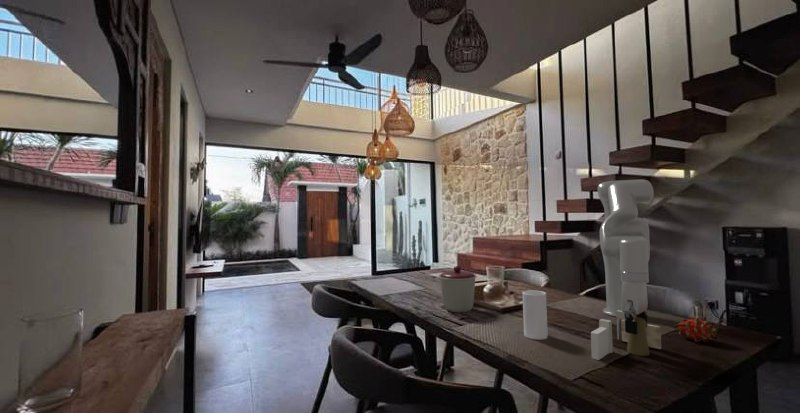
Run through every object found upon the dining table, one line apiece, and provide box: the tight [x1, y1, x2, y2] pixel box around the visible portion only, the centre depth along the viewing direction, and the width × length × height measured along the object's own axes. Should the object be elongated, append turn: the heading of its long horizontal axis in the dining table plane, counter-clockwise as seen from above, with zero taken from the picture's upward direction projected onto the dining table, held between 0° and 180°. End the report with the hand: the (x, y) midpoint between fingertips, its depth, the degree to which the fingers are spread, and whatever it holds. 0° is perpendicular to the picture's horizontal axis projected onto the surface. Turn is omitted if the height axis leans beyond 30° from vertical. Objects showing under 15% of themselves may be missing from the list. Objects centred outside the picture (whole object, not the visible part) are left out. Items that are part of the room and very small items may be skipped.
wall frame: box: [590, 310, 625, 361], centre depth 116 cm, size 31×3×10 cm, turn 129°
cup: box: [522, 289, 549, 341], centre depth 128 cm, size 8×8×16 cm
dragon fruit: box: [673, 316, 720, 343], centre depth 119 cm, size 8×8×12 cm
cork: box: [626, 317, 650, 357], centre depth 110 cm, size 6×6×11 cm
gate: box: [618, 319, 662, 350], centre depth 116 cm, size 12×2×7 cm, turn 42°
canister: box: [438, 265, 478, 313], centre depth 165 cm, size 18×18×21 cm
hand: (636, 329), depth 111 cm, fingers open, 9 cm apart
